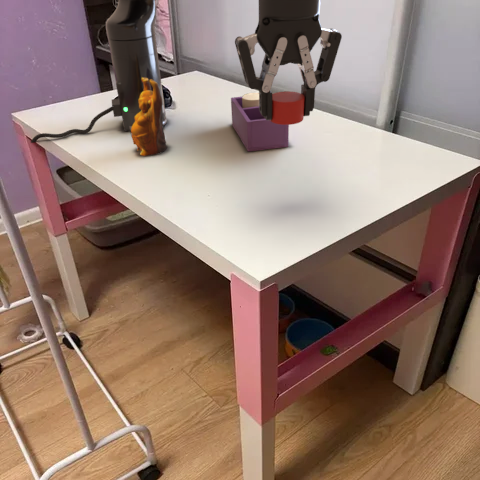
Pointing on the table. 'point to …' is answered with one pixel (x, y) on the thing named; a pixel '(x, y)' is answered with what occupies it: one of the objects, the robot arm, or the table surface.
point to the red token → (287, 108)
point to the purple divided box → (257, 128)
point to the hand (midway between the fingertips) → (286, 115)
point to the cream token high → (250, 100)
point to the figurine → (149, 121)
